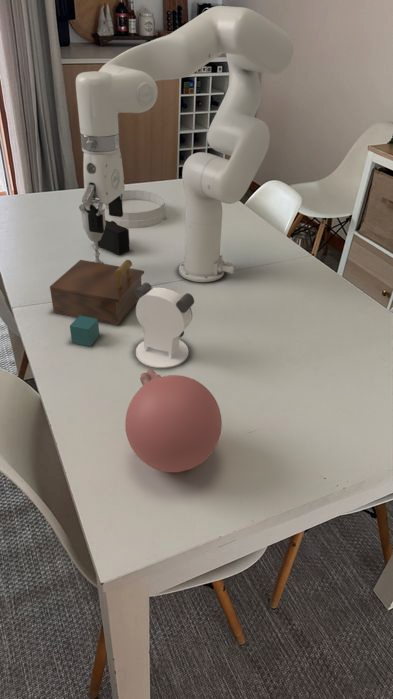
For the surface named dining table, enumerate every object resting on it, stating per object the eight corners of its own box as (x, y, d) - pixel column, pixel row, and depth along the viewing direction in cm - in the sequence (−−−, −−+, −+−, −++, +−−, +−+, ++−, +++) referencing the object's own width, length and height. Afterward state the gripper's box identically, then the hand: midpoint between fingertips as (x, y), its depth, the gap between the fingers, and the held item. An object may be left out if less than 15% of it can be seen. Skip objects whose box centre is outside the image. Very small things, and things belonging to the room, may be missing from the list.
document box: (141, 294, 130) (141, 272, 126) (117, 325, 118) (115, 302, 114) (83, 284, 133) (80, 262, 129) (53, 312, 121) (50, 289, 118)
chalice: (105, 277, 136) (100, 213, 126) (81, 274, 137) (74, 210, 127) (114, 266, 142) (110, 203, 132) (91, 263, 143) (85, 200, 133)
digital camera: (133, 250, 151) (132, 227, 147) (119, 255, 147) (118, 233, 143) (109, 240, 156) (107, 218, 152) (95, 245, 153) (93, 223, 149)
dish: (163, 229, 164) (162, 214, 161) (94, 226, 164) (93, 211, 161) (167, 204, 182) (166, 191, 179) (105, 202, 182) (104, 188, 179)
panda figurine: (199, 346, 112) (202, 286, 103) (177, 374, 104) (178, 312, 95) (151, 332, 116) (150, 273, 107) (126, 359, 107) (122, 297, 99)
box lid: (144, 273, 126) (143, 253, 122) (119, 302, 114) (117, 281, 111) (80, 262, 129) (78, 242, 126) (50, 289, 118) (46, 268, 114)
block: (99, 335, 114) (98, 318, 112) (90, 346, 111) (88, 329, 108) (81, 331, 115) (79, 315, 112) (71, 342, 112) (69, 325, 109)
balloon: (192, 400, 97) (195, 334, 88) (232, 479, 82) (240, 409, 73) (113, 417, 93) (107, 349, 84) (140, 503, 78) (136, 432, 69)
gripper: (98, 155, 94) (105, 241, 104) (134, 134, 107) (137, 212, 117) (61, 150, 96) (72, 236, 106) (102, 130, 109) (108, 208, 119)
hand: (106, 223), depth 112 cm, fingers open, 9 cm apart
